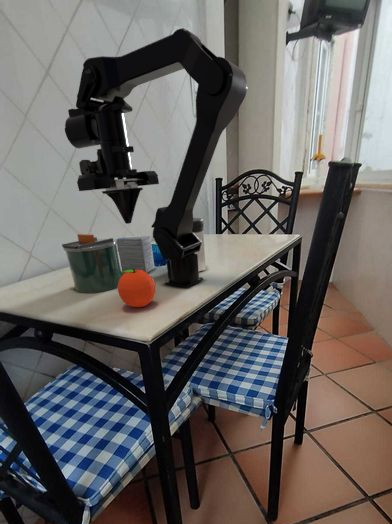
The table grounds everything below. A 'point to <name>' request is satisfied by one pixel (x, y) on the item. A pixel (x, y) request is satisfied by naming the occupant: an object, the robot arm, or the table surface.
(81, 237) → the slider
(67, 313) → the table surface
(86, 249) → the canister
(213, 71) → the robot arm
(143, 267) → the medicine box
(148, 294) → the clementine
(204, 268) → the jar
